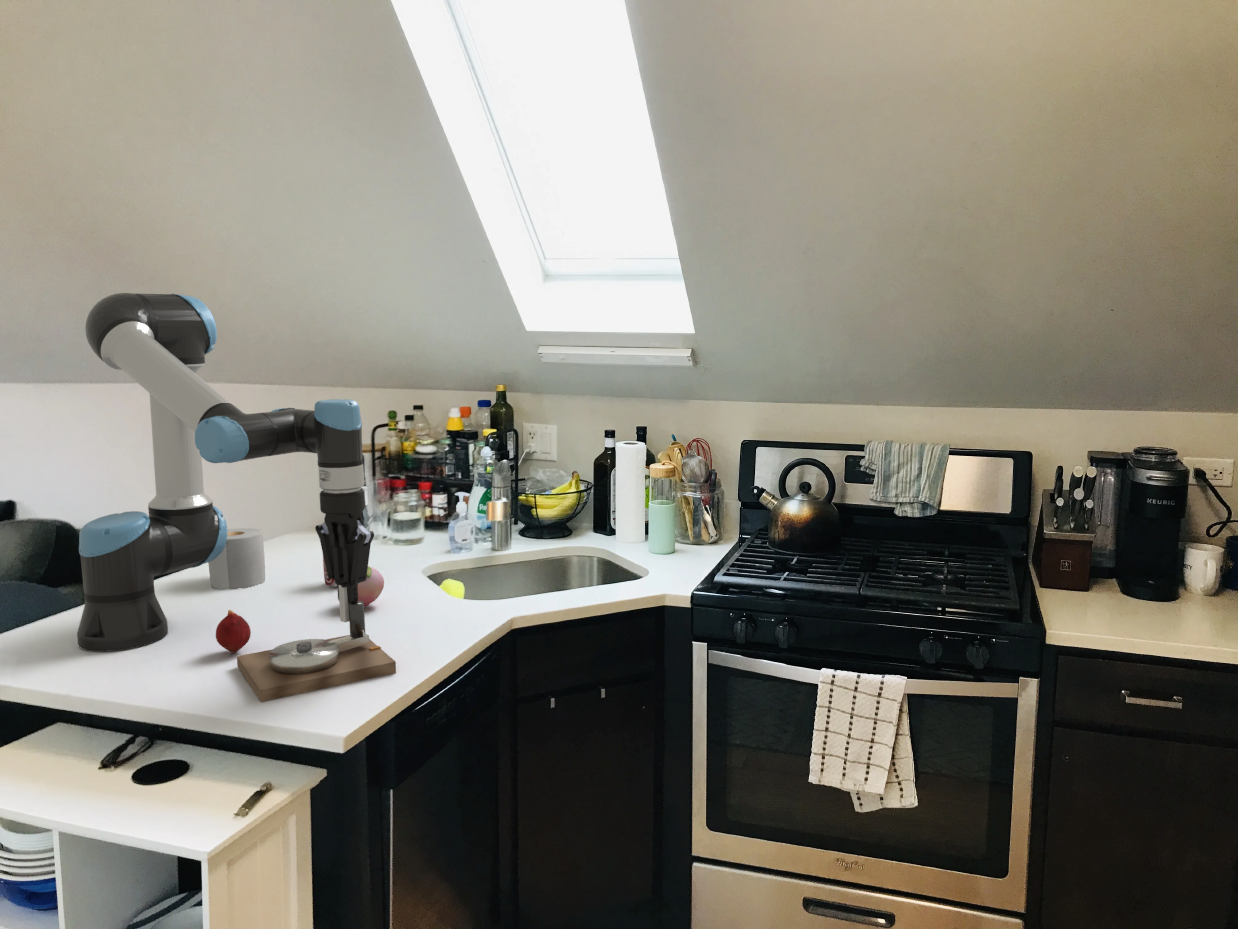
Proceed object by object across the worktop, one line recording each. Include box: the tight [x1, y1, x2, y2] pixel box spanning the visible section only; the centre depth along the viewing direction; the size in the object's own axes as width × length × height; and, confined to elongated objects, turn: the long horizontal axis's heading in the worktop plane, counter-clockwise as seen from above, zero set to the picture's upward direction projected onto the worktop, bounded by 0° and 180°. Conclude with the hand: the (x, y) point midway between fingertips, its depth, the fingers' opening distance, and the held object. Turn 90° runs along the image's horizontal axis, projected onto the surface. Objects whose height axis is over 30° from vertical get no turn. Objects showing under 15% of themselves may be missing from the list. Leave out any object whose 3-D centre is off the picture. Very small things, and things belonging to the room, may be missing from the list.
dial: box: [270, 601, 370, 673], centre depth 157 cm, size 17×11×8 cm, turn 135°
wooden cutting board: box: [236, 634, 397, 703], centre depth 157 cm, size 22×18×2 cm
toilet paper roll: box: [207, 527, 266, 590], centre depth 211 cm, size 12×12×12 cm
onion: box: [215, 609, 252, 654], centre depth 165 cm, size 6×6×8 cm
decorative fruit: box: [358, 565, 385, 607], centre depth 192 cm, size 9×8×10 cm
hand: (349, 619), depth 162 cm, fingers closed
